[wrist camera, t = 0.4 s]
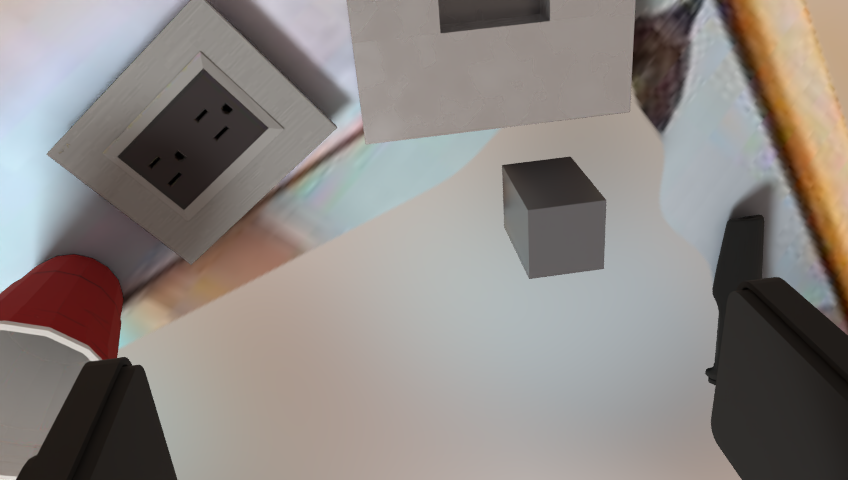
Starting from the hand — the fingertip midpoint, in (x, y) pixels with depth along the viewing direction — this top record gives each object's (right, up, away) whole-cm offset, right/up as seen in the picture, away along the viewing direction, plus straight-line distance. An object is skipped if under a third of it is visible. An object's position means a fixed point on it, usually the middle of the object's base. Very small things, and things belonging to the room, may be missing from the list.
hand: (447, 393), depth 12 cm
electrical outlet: (-14, +9, +33) cm, 37 cm away
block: (+7, +6, +37) cm, 38 cm away
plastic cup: (-23, -1, +37) cm, 43 cm away
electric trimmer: (+23, -2, +44) cm, 49 cm away
